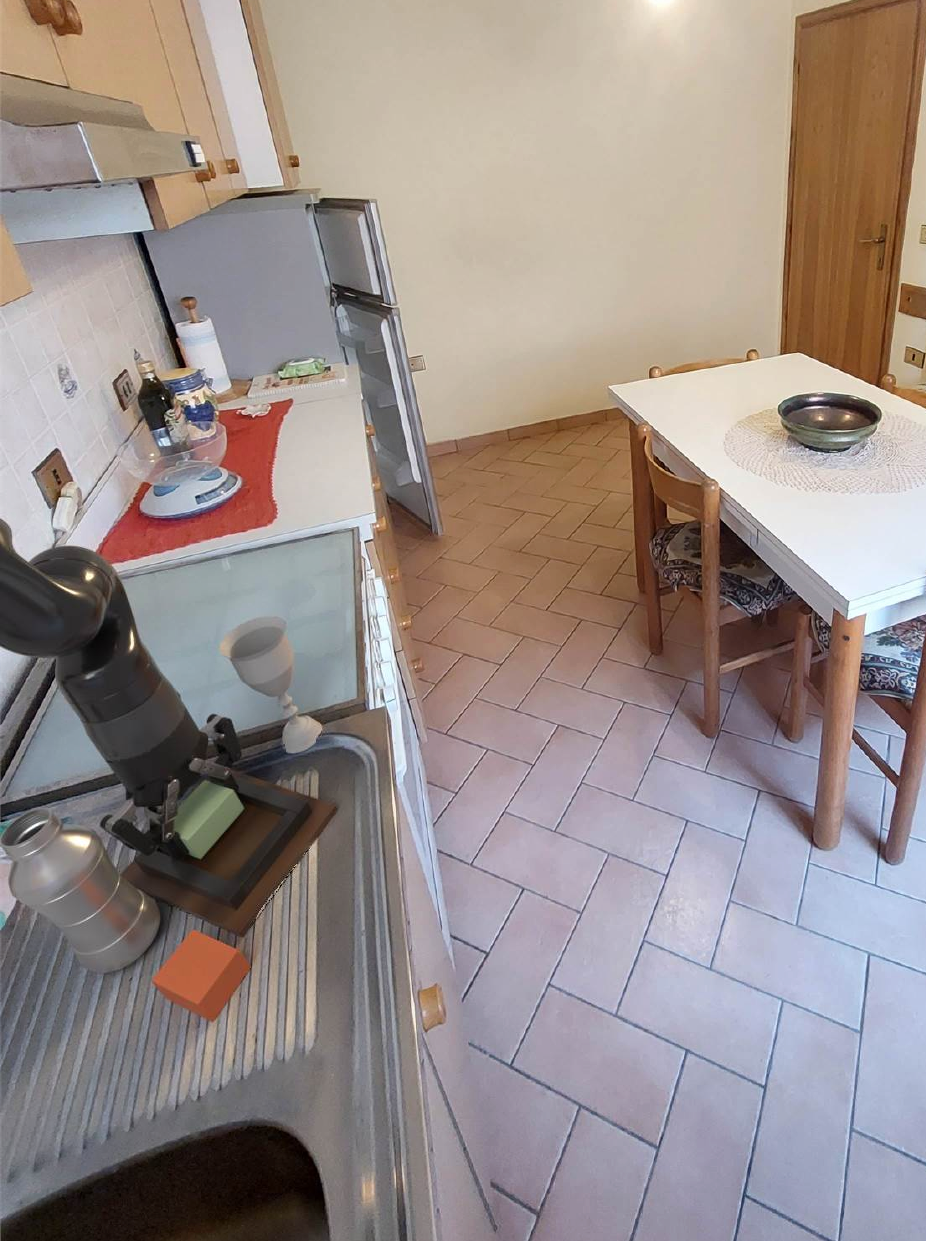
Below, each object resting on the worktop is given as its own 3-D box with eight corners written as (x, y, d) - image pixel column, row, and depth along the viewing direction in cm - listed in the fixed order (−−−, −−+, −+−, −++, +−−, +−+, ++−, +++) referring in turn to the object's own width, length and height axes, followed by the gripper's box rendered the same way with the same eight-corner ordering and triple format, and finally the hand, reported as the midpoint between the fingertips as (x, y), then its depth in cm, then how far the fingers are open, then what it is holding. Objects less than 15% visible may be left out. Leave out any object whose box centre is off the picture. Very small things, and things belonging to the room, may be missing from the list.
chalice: (332, 707, 92) (288, 609, 83) (329, 748, 86) (282, 646, 77) (275, 725, 90) (224, 626, 81) (269, 767, 84) (213, 666, 76)
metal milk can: (169, 950, 67) (71, 832, 57) (89, 999, 64) (-30, 883, 54) (166, 895, 71) (75, 777, 62) (91, 938, 68) (-18, 821, 59)
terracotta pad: (166, 999, 63) (150, 981, 61) (206, 947, 67) (192, 928, 65) (212, 1022, 61) (197, 1004, 59) (251, 968, 65) (238, 949, 63)
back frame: (120, 883, 73) (107, 868, 72) (225, 771, 84) (215, 756, 83) (242, 938, 67) (231, 922, 66) (338, 809, 78) (330, 794, 77)
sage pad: (200, 859, 72) (187, 840, 71) (171, 847, 74) (157, 828, 72) (244, 808, 77) (233, 789, 75) (216, 798, 79) (204, 779, 77)
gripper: (177, 664, 74) (233, 761, 82) (42, 778, 62) (123, 878, 71) (227, 677, 72) (280, 777, 80) (96, 799, 60) (174, 901, 68)
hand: (206, 824), depth 75 cm, fingers closed on sage pad, 6 cm apart
